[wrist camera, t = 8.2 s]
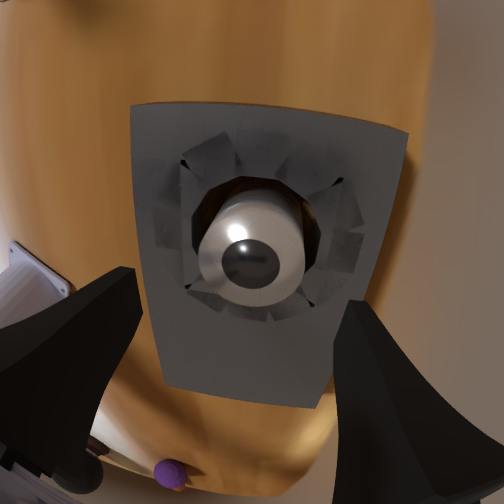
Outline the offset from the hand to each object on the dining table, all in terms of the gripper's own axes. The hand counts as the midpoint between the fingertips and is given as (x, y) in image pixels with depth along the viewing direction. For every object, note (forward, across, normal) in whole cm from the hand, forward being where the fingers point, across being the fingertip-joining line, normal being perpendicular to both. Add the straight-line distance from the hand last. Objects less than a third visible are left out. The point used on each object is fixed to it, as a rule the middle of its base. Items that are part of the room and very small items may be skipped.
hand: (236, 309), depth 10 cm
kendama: (+8, +12, +56) cm, 57 cm away
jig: (+8, 0, +4) cm, 9 cm away
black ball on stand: (+8, +33, +56) cm, 65 cm away
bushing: (+8, 0, 0) cm, 8 cm away
